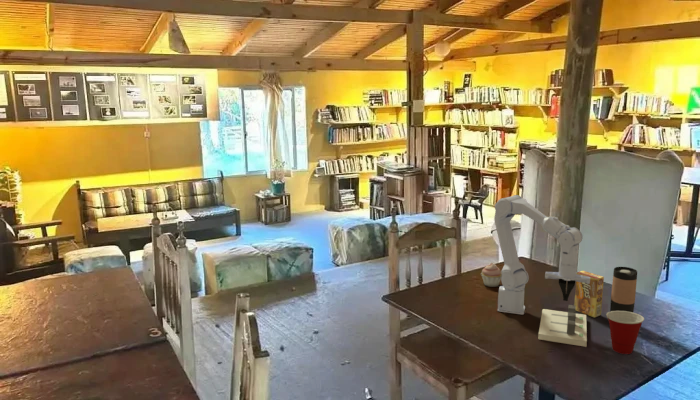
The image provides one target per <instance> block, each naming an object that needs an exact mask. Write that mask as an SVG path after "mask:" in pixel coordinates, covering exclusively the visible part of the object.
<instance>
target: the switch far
mask: <svg viewBox="0 0 700 400" xmlns="http://www.w3.org/2000/svg"><path fill="white" fill-rule="evenodd" d="M567 308H568V309H567V312H570V313H576V306H574V304H573V305H572V304H568V307H567Z"/></svg>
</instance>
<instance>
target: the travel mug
mask: <svg viewBox="0 0 700 400" xmlns="http://www.w3.org/2000/svg"><path fill="white" fill-rule="evenodd" d="M637 281H638V270H637V269H635V268H632V267H627V266H616V267H614V269H613V275H612V282H611V283H612V284H611V294H610V307H609V312H611V311H627V312H633V313H634V311H635V310H634V309H635V303H636V302H635V301H636V293H637Z"/></svg>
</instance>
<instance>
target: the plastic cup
mask: <svg viewBox="0 0 700 400" xmlns="http://www.w3.org/2000/svg"><path fill="white" fill-rule="evenodd" d="M605 315H606V318H607V321H608V324H609V333H610V339H611V348H612V350H613V351H614V352H616V353H618V354H621V355H630V354H632V353H633V351H634V348H635V345H636V343H637V338H638V336H639V333H640V329H641V326H642V323H643V322H644V321H645V317H644V316H642V315H641V314H639V313H636V312H634V311H633V312H627V311H611V312H610V311H608V312H606V314H605Z"/></svg>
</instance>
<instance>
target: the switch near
mask: <svg viewBox="0 0 700 400" xmlns="http://www.w3.org/2000/svg"><path fill="white" fill-rule="evenodd" d="M567 334H572V335H575V321H570V320H568V323H567Z"/></svg>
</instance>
